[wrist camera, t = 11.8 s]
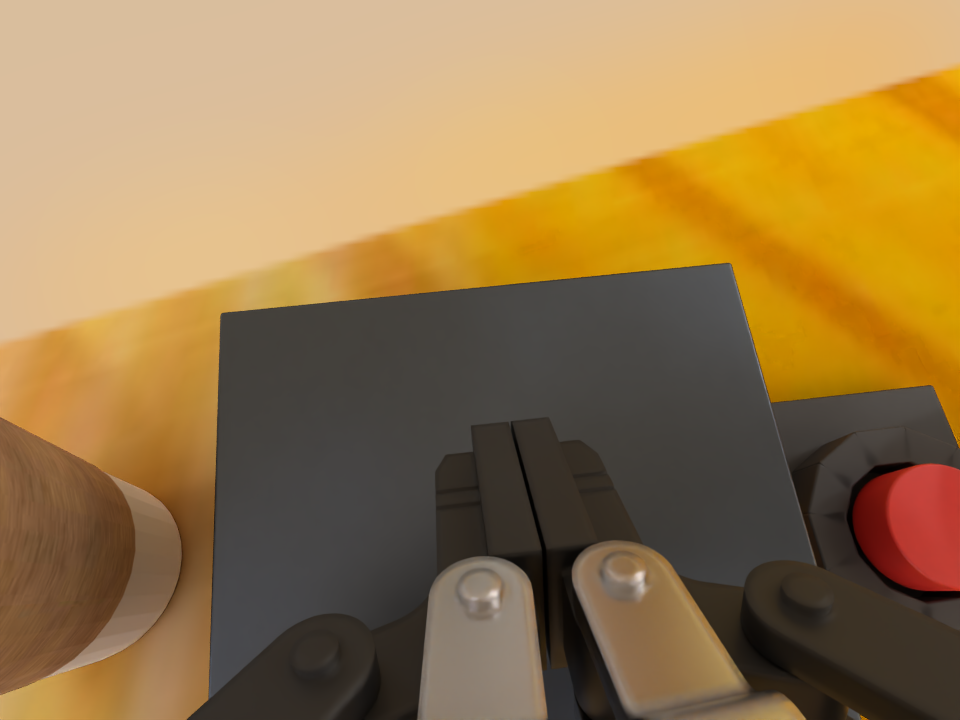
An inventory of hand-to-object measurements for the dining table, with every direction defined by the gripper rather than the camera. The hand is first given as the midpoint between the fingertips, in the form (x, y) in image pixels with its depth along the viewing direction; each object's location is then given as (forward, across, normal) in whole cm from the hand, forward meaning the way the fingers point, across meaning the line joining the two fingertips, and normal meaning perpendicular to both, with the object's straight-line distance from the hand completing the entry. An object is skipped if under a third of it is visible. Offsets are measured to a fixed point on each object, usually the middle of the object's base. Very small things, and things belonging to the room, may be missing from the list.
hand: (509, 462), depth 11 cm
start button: (+4, -13, +7) cm, 15 cm away
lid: (+1, 0, +3) cm, 3 cm away
